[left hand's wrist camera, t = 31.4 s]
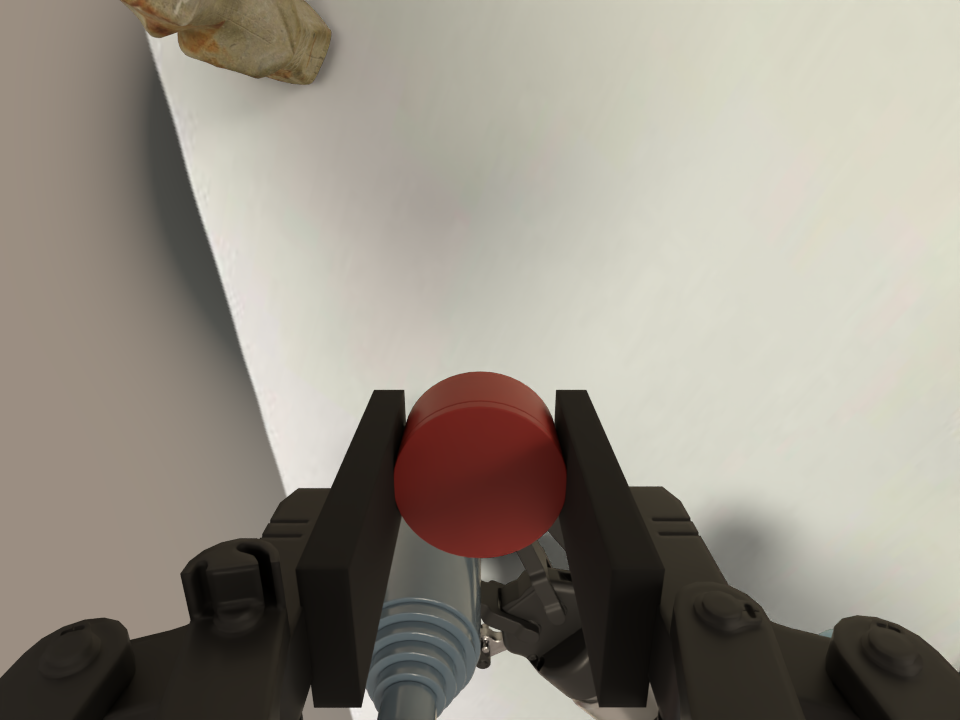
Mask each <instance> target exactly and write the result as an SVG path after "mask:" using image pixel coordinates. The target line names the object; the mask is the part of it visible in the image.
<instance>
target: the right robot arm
mask: <svg viewBox="0 0 960 720" xmlns="http://www.w3.org/2000/svg"><path fill="white" fill-rule="evenodd" d="M548 532H549V533H550V534H551V535H552V536H553V537H554V538H555V540H556V541H557V542H558V543H559V544H560V545H561V546H562V548H563V549H564V550H565V545H564V540H563V536H562V531H561V526H560V521H559V517H558V518H557V519H556V521H555V522H554V524H553V525H552V526H551V527H550V528H549V530H548ZM565 551H566V550H565ZM517 553H518V555H519V557H520V559H521V561H522V563H523V565H524V567H525V569H526V570H525V571H524V572H523V573H522V574H521V575H520V577H519V578H518V579H517V580H515V581H512V582H510V583H508V584H507V585H503V584H501V583H498V582H496V581H490V582H484V581H482V580H481V619H482V620H483V622H484V624H482V625H481V651H480V657H479V661H478V663H477V665H476V666H477V667H478V668H480V669H485V668H488V667H489V666H490V663H491V659H490V657H491V656H493V655H495V654H498V653H500V652H502V651H505V650H508V651H509V652H511V653H514V654H518V655H521V656H524V657H526V658H527V659H528V660H529V661H530V663H531V664H532V665H533V666H534V668H535V669H536V670H537V671H538V673H539V674H540V675H541V676H543V677H544V678H545V679H546V680H548V681H549V682H550V683H551V684H553V685H554V686H555V687H556V688H558V689H559V690H560V691H561V692H562V693H564V694H565V695H566V696H568V697H569V698H571V699H572V700H573V701H574V702H575V704H576V705H578V706H579V707H580V708H581V709H583V710H584V711H585V712H587V713H588V714H589V715H591V716H592V717H593V718H594V719H596V720H657V715H658V706H657V703H656V700H655V697H654V694H653V691H652V688H651V684H649V691H648V699H647V706H646V708H599V705H598V700H597V696H596V691H595V686H594V682H593V677H592V672H591V667H590V663H589V658H588V653H587V649H586V644H585V639H584V634H583V630H582V625H581V620H580V616H579V611H578V606H577V601H576V597H575V592H574V587H573V583H572V578H571V573H570V571H569V570H562V569H555V568H553V567H552V565H551V563H550V561H549V559H548V557H547V555H546V553H545V551H544V549H543V548H542V547H541V546H540V544H539V542H538V540H536V541H535V542H533V543H532V544H530V545H528V546H526V547H525V548H523V549H521V550H518V551H517ZM489 626H490V627H493V628H495V629H498V630H501V632H494V631H492V630H491V629H490V628H489ZM832 633H833V629H830V630H826V631H824V632H822V633H820V634H819V635H821V636H825V637H830V638H831V637H832Z"/></svg>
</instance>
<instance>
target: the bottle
mask: <svg viewBox="0 0 960 720" xmlns="http://www.w3.org/2000/svg"><path fill="white" fill-rule="evenodd" d="M480 651H481V558H469V557H463V556H457V555H454V554H450V553H447V552H445V551H442V550H440V549H437V548H436V547H434V546H432V545H430V544H428V543H427V542H426V541H424V540H423V539H421V538H420V537H419V536H418V535H417V534H416V533H415V532H414V531H413V530H412V529H411V528H410V527H409V526H408V524H407V523H406V522H405V520H404V519H403V517H402V518H401V523H400V528H399V533H398V537H397V542H396V547H395V551H394V556H393V561H392V566H391V570H390V575H389V580H388V584H387V589H386V594H385V599H384V603H383V608H382V613H381V617H380V622H379V627H378V632H377V636H376V641H375V646H374V650H373V655H372V660H371V664H370V669H369V674H368V679H367V683H366V690H367V692H368V694H369V696H370V698H371V700H372V701H373V702H374V705H375V708H376V709H377V711H378V712H379V713H378V718H377V720H436V718H437V717H439V716H440V714H441V713H442V712H443V710H444V709H445V708H446V707H448V705H449V704H450V703H451V702H452V700H453V699H454V698H455V697H456V696H457V695H458V694H459V693H460V691H461V690H462V689H464V687H465V686H466V685H467V684H468V683H469V681H470V680H471V678H472V676H473V674H474V671H475V667H476V665H477V663H478V661H479V657H480Z"/></svg>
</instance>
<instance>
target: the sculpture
mask: <svg viewBox="0 0 960 720" xmlns="http://www.w3.org/2000/svg"><path fill="white" fill-rule="evenodd" d="M120 1H121V2H122V3H124V4H125V5H126V6H127V7H128V8H129V9H130V10H131V11H132V12H133V13H134V14H135V15H136V16H137V17H138V19H139V20H140V21H141V23H142V25H143V26H144V28H145V30H146V31H147V32H148V33H149V34H150V35H151V36H153V37H156V38H162V37H165V36H168V35H171V34H174V33H177V32H178V42H179V46H180V48H181V50H182V52H183V53H184V54H185V55H187V56H189V57H191V58H195V59H198V60H201V61H204V62H207V63H209V64H212V65H214V66H216V67H220V68H225V69H228V70H232V71H236V72H239V73H242V74H245V75H248V76H251V77H253V78H262V77H269V78H272V79H275V80H278V81H283V82H287V83H292V84H301V85H308V84H311V83H312V82H313V81H314V79H315V78H316V76H317V74H318V72H319V70H320V67H321V65H322V63H323V61H324V58H325V56H326V53H327V50H328V47H329V44H330V39H331V30H330V29H329V28H328V26H327V25H326V24H325V22H324V21H323V20H322V19H321V17H320V16H319V15H318V14H317V13H316V12H315V11H314V10H313V9H312V7H311V6H310V5H308V4H307V3H306V2H305V1H304V0H120Z"/></svg>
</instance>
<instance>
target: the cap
mask: <svg viewBox="0 0 960 720" xmlns="http://www.w3.org/2000/svg"><path fill="white" fill-rule="evenodd" d="M566 479H567V469H566V465H565V461H564V457H563V454H562V450H561V446H560V443H559V439H558V435H557V432H556V428H555V424H554V421H553V418H552V416H551V413H550V411H549V409H548V408H547V406H546V405H545V403H544V402H543V400H542V399H541V398H540V397H539V396H538V395H537V394H536V393H535V392H534V391H533V390H532V389H530V388H529V387H528V386H526V385H525V384H523V383H522V382H520V381H518V380H516V379H513V378H511V377H508V376H505V375H502V374H498V373H492V372H468V373H463V374H458V375H455V376H452V377H449V378H447V379H445V380H442V381H440V382H439V383H437V384H436V385H434V386H432V387H431V388H430V389H429V390H427V391H426V392H425V393H424V394H423V395H422V396H421V397H420V398H419V399H418V401H417V402H416V404H415V405H414V406H413V408H412V410H411V412H410V414H409V416H408V419H407V422H406V425H405V429H404V432H403V436H402V440H401V443H400V447H399V451H398V455H397V458H396V462H395V466H394V490H395V501H396V505H397V507H398V509H399V511H400V514H401V515H402V517H403V519H404V520H405V522H406V523H407V524H408V526H409V527H410V528H411V529H412V530H413V531H414V532H415V533H416V534H417V535H418V536H419V537H420V538H421V539H423V540H424V541H426V542H427V543H428V544H430V545H432V546H434V547H436V548H437V549H440V550H442V551H445V552H447V553H450V554H454V555H457V556H463V557H469V558H491V557H498V556H503V555H507V554H510V553H513V552H516V551H518V550H521V549H523V548H525V547H526V546H528V545H530V544H532V543H533V542H535V541H536V540H537V539H539V538H540V537H541V536H542V535H543V534H545V533H546V532H547V531H548V530H549V528H550V527H551V526H552V525H553V524H554V522H555V521H556V519H557V518H558V516H559V514H560V512H561V510H562V508H563V506H564V502H565V495H566Z"/></svg>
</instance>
